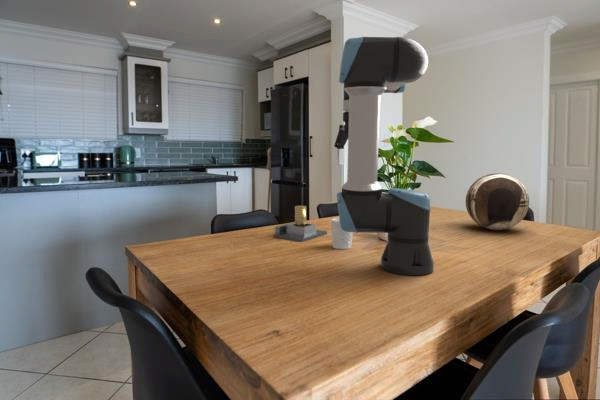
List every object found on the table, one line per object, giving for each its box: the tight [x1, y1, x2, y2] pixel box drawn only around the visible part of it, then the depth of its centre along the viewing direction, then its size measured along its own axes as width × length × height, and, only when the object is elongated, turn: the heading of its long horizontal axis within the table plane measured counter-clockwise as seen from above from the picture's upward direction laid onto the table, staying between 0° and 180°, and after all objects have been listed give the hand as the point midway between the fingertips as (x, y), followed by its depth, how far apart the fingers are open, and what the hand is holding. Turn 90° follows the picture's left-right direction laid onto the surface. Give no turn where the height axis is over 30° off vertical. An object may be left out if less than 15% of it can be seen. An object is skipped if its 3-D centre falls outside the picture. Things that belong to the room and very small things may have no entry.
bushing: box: [294, 205, 307, 227], centre depth 157 cm, size 5×5×11 cm
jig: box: [273, 221, 328, 243], centre depth 159 cm, size 18×14×5 cm
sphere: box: [465, 172, 530, 231], centre depth 173 cm, size 25×25×25 cm
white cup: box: [330, 217, 354, 250], centre depth 140 cm, size 8×8×10 cm
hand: (351, 165), depth 159 cm, fingers open, 13 cm apart
